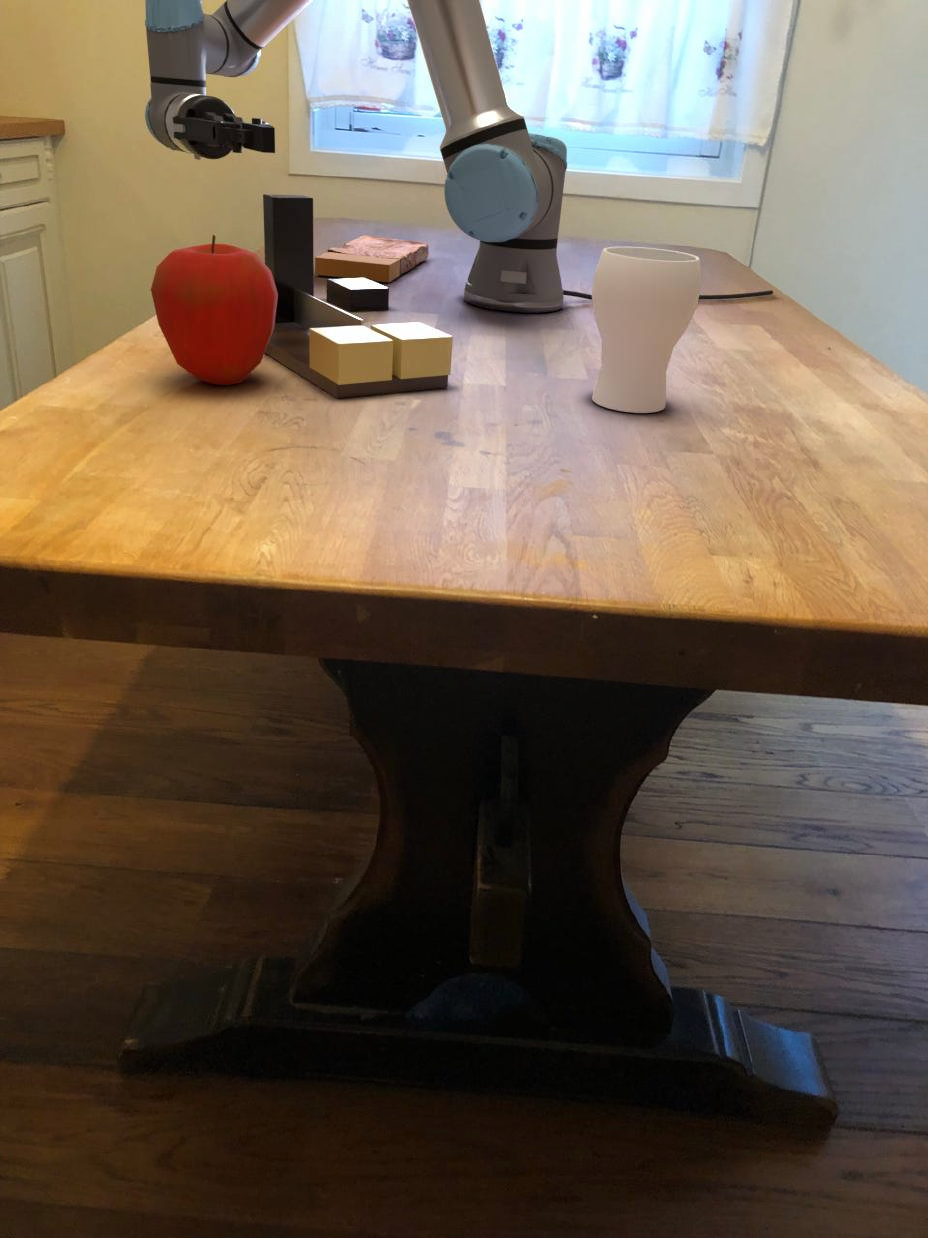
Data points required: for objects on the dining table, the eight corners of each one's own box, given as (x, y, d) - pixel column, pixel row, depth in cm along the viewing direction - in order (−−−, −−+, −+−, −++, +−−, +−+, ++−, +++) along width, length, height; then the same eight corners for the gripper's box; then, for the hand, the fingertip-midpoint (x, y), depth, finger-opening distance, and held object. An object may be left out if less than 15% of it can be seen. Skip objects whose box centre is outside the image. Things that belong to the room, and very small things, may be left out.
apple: (179, 361, 103) (169, 222, 96) (289, 370, 103) (286, 231, 96) (142, 392, 92) (127, 237, 85) (265, 401, 92) (260, 247, 85)
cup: (678, 423, 96) (706, 266, 88) (573, 410, 97) (593, 254, 90) (678, 396, 105) (704, 252, 98) (583, 384, 106) (601, 241, 99)
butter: (309, 367, 99) (309, 328, 97) (417, 358, 105) (419, 321, 103) (338, 384, 94) (338, 343, 92) (450, 374, 100) (452, 336, 98)
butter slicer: (266, 318, 117) (262, 194, 110) (304, 316, 119) (302, 194, 112) (340, 359, 101) (341, 218, 95) (382, 356, 104) (385, 218, 97)
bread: (312, 276, 155) (312, 254, 154) (363, 252, 181) (363, 234, 180) (389, 284, 153) (390, 262, 152) (430, 259, 179) (431, 240, 178)
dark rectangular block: (326, 300, 138) (326, 278, 137) (363, 298, 141) (363, 277, 140) (350, 311, 132) (350, 289, 131) (388, 309, 135) (389, 287, 134)
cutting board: (220, 325, 120) (219, 312, 119) (315, 320, 126) (315, 308, 125) (336, 398, 95) (336, 383, 94) (447, 387, 101) (448, 373, 101)
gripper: (249, 158, 134) (319, 176, 116) (156, 154, 127) (216, 173, 110) (248, 98, 130) (320, 107, 113) (152, 90, 123) (213, 99, 106)
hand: (268, 139), depth 111 cm, fingers closed
